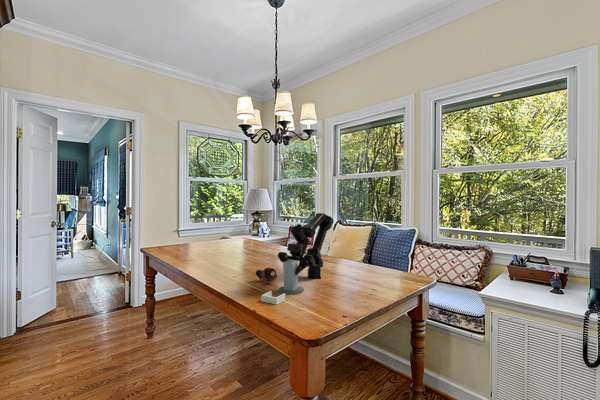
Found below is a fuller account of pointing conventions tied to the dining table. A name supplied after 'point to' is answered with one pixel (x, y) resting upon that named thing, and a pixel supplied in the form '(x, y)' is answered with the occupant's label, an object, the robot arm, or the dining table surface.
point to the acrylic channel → (272, 298)
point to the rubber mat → (297, 291)
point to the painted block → (290, 275)
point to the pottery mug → (266, 275)
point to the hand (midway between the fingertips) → (289, 273)
